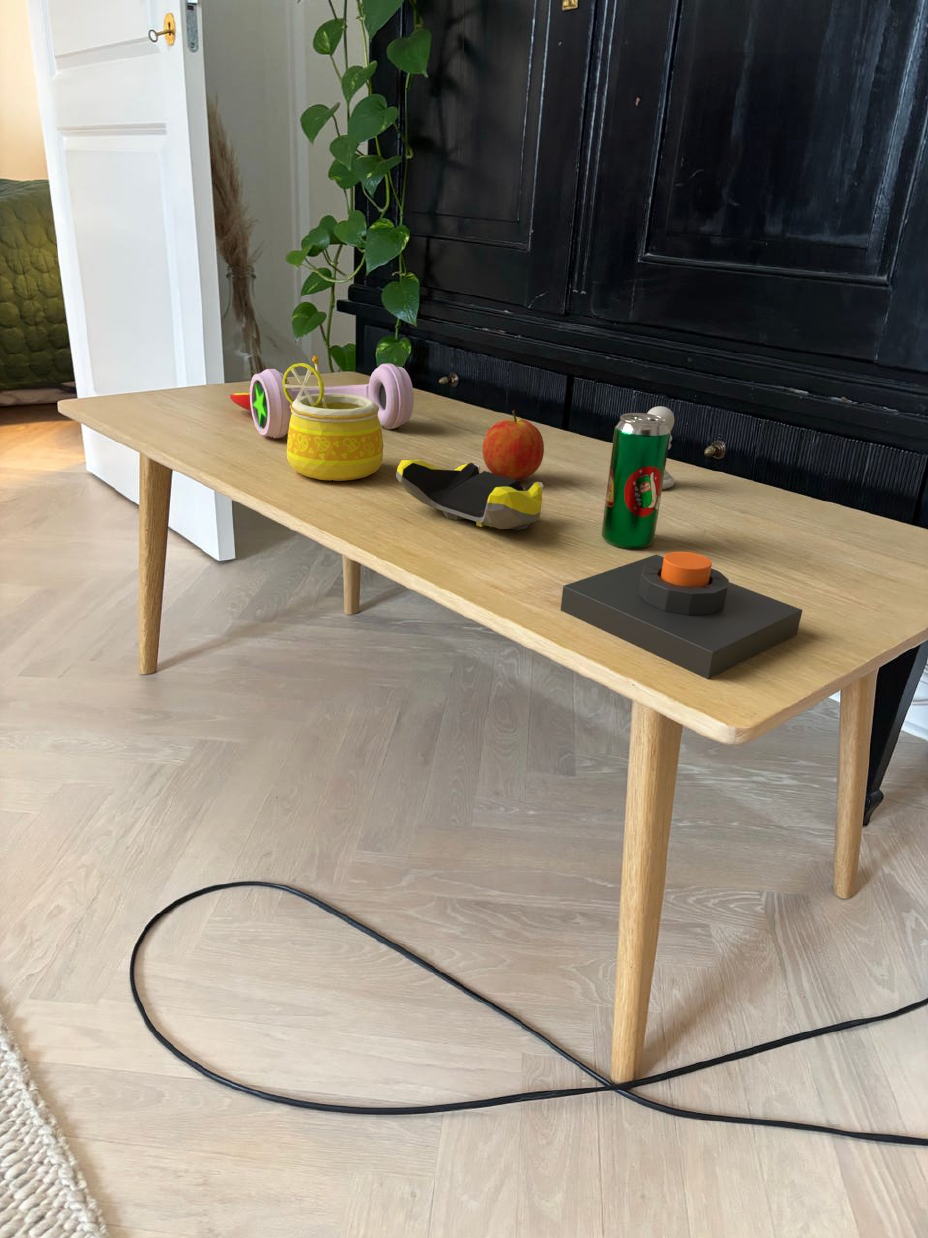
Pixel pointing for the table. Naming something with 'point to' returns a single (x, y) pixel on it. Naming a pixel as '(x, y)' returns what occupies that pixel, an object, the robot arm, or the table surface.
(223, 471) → the table surface
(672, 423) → the chess piece
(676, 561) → the orange push button
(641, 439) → the soda can
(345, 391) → the headphones
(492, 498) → the shoe
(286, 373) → the yellow drink pot
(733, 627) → the push button base
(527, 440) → the fruit
